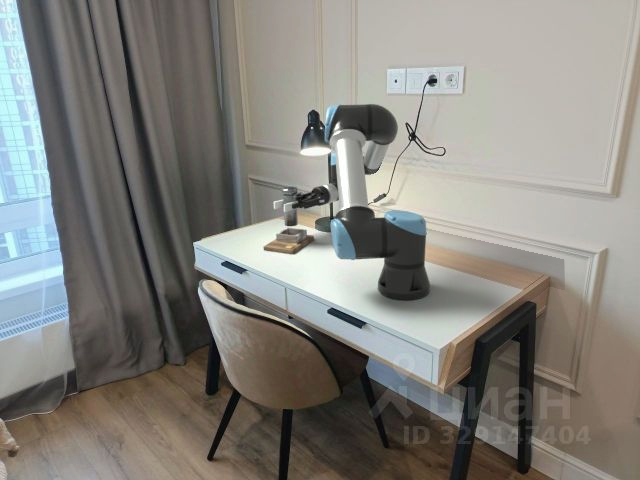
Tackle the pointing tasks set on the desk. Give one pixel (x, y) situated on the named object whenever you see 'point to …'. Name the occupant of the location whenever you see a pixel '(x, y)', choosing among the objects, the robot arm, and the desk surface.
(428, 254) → the desk surface
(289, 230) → the base
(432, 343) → the desk surface
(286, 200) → the grey capped canister
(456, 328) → the desk surface
